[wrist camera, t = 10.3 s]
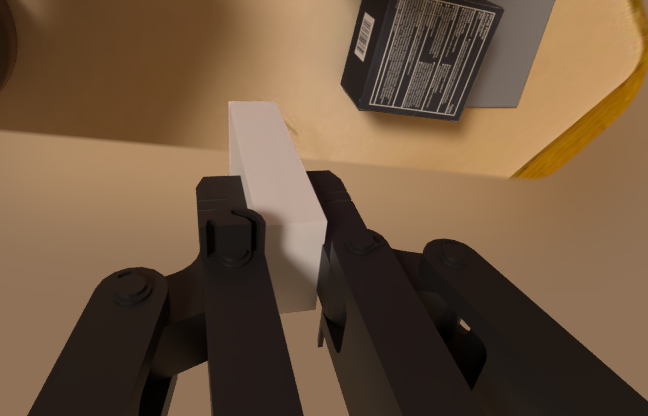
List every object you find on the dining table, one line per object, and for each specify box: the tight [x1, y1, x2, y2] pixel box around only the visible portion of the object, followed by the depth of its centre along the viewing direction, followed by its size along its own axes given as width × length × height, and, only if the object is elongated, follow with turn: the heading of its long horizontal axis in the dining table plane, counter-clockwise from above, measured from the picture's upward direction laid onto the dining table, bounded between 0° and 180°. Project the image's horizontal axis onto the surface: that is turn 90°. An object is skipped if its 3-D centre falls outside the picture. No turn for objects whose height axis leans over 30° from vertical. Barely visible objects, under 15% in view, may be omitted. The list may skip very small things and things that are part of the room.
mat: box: [465, 0, 555, 107], centre depth 46 cm, size 19×16×1 cm
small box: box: [341, 0, 505, 122], centre depth 42 cm, size 11×6×10 cm
